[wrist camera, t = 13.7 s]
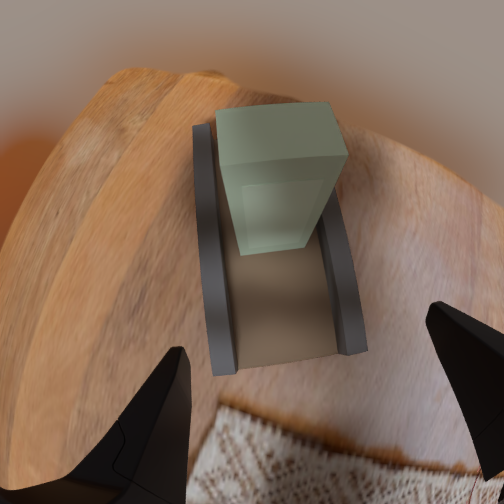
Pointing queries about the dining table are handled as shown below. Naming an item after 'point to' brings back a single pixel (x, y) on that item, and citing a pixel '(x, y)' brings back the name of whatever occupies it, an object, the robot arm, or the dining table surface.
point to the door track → (271, 283)
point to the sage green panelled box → (278, 171)
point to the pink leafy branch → (474, 485)
